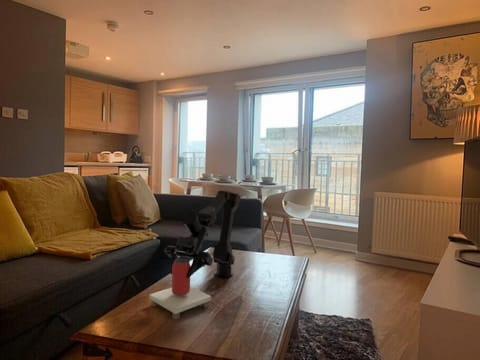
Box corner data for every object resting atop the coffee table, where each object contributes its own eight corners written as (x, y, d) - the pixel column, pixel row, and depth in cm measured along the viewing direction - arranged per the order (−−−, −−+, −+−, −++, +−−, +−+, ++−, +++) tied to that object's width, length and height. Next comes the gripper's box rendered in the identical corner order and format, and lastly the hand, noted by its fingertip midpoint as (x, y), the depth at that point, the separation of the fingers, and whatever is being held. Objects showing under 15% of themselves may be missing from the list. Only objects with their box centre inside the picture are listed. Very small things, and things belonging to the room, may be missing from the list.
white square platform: (149, 304, 121) (149, 294, 121) (184, 293, 133) (184, 283, 133) (175, 320, 111) (175, 309, 110) (210, 306, 122) (211, 296, 122)
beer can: (178, 297, 117) (179, 264, 116) (168, 291, 122) (169, 260, 121) (193, 292, 122) (194, 261, 121) (183, 287, 126) (184, 256, 125)
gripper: (167, 224, 127) (148, 260, 118) (210, 231, 120) (193, 270, 111) (178, 240, 135) (161, 275, 126) (219, 247, 128) (204, 284, 118)
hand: (179, 275), depth 120 cm, fingers closed on beer can, 6 cm apart
